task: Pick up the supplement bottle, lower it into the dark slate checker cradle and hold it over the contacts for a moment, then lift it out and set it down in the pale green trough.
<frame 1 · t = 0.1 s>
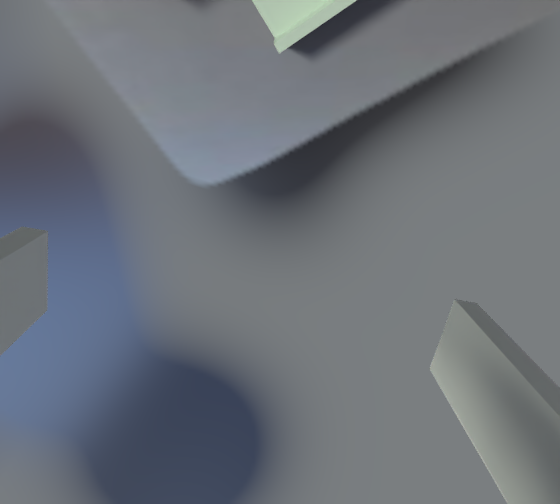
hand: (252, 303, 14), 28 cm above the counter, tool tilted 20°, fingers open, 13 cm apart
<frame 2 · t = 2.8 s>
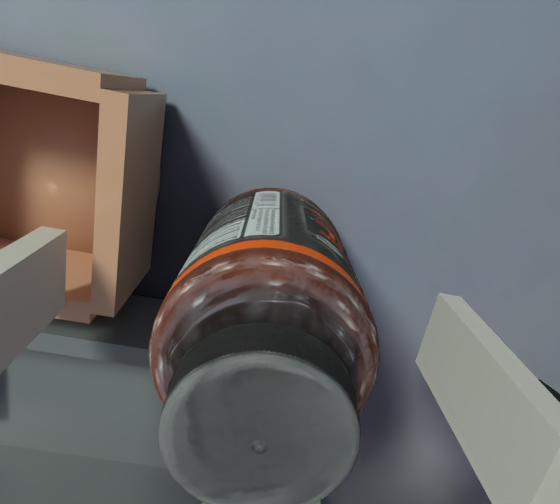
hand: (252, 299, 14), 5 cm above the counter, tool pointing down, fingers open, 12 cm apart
checker cradle: (100, 377, 21), on the counter
supplement bottle: (270, 249, 19), on the counter
open cardboard box: (62, 167, 18), on the counter
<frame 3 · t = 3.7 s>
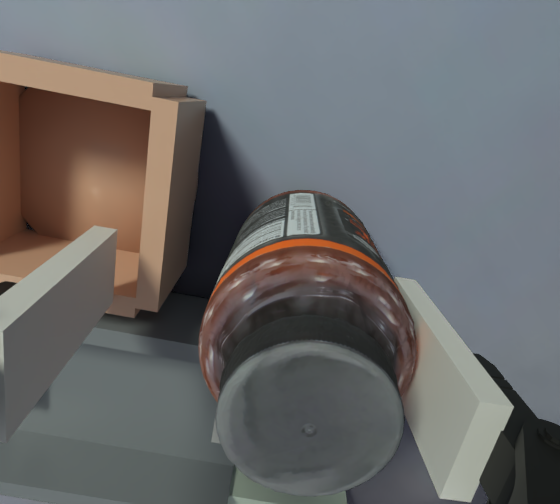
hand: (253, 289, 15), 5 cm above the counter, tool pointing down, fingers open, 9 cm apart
checker cradle: (135, 371, 22), on the counter
supplement bottle: (301, 249, 20), on the counter, touching gripper
open cardboard box: (105, 169, 19), on the counter
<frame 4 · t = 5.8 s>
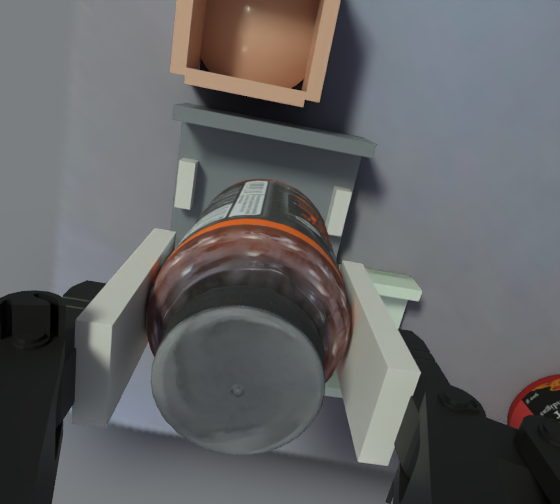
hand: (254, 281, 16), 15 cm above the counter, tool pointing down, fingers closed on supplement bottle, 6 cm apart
checker cradle: (263, 192, 30), on the counter
supplement bottle: (262, 236, 21), point 10 cm above the counter, touching gripper
open cardboard box: (259, 26, 26), on the counter
canned food: (548, 409, 37), on the counter
trough: (320, 320, 33), on the counter
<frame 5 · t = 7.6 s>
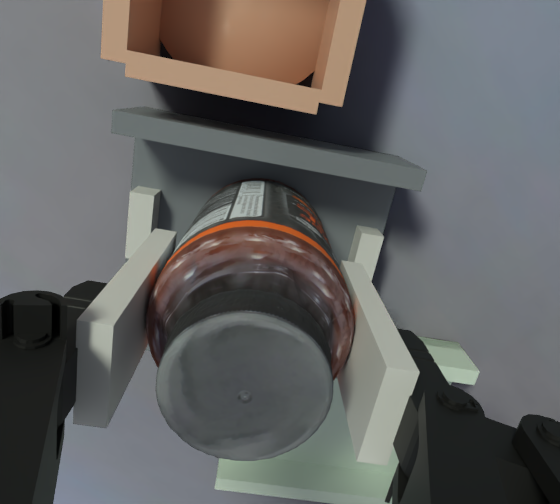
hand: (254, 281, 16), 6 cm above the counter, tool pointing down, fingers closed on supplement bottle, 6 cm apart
checker cradle: (255, 232, 21), on the counter
supplement bottle: (258, 236, 20), point 1 cm above the counter, touching checker cradle, gripper
trough: (333, 399, 25), on the counter
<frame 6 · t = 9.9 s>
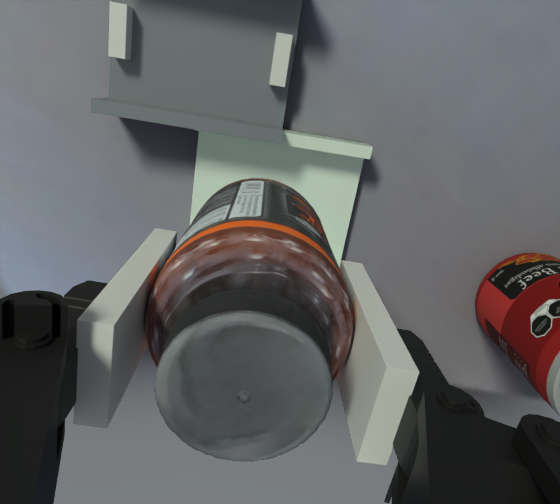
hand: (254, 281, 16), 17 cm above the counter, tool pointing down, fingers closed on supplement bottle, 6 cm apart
checker cradle: (205, 49, 29), on the counter
supplement bottle: (258, 236, 20), point 12 cm above the counter, touching gripper
canned food: (517, 294, 36), on the counter
trough: (273, 195, 32), on the counter
when the fingers open (5 cm above the counter, at t = 12.4 s): supplement bottle stays where it is, resting on trough.
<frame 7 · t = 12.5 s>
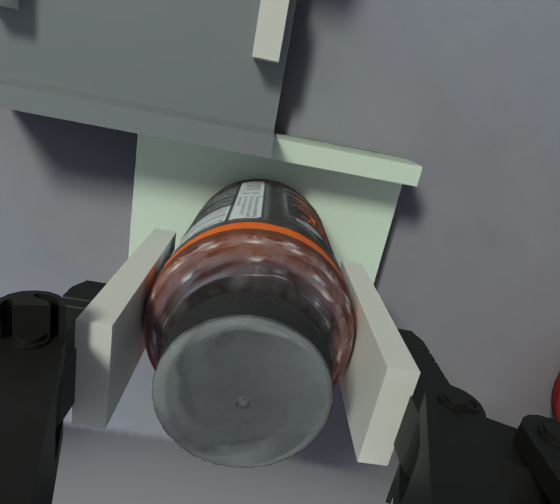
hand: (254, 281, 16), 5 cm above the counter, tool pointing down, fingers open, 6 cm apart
supplement bottle: (259, 237, 20), point 1 cm above the counter, touching trough
trough: (259, 235, 21), on the counter
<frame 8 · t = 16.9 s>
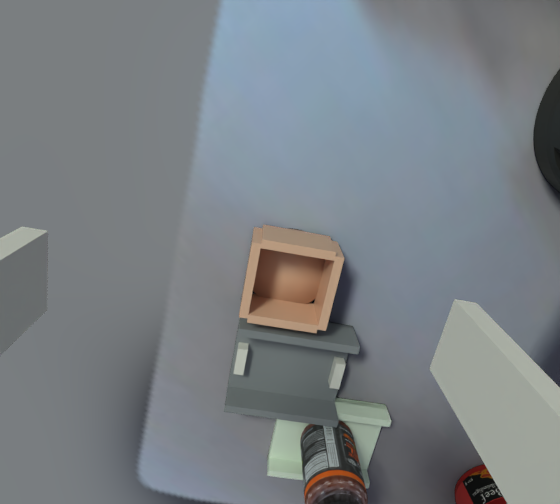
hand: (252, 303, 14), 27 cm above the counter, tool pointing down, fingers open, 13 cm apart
checker cradle: (288, 357, 46), on the counter
supplement bottle: (325, 434, 49), point 1 cm above the counter, touching trough
open cardboard box: (288, 267, 42), on the counter
canned food: (483, 485, 53), on the counter
trough: (325, 431, 49), on the counter
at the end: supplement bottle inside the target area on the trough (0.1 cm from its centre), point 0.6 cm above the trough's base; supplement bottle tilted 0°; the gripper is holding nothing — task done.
